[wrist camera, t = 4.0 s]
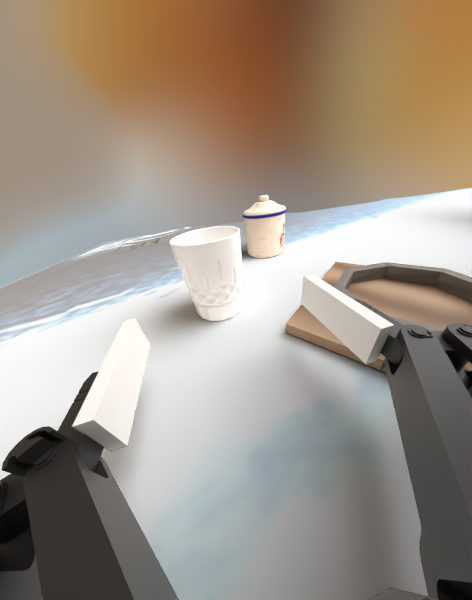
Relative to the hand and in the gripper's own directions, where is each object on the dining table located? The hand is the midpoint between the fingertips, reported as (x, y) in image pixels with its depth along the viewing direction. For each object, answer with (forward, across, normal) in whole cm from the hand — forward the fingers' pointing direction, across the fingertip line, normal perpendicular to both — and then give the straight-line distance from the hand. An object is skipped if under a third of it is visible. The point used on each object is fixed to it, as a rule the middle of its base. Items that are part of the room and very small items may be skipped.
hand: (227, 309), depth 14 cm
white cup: (+10, 0, -6) cm, 11 cm away
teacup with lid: (+29, +14, -6) cm, 33 cm away
